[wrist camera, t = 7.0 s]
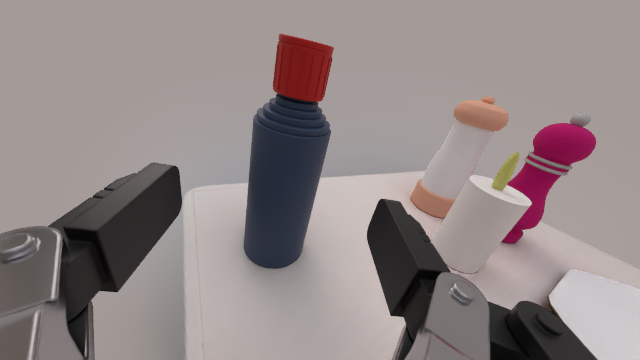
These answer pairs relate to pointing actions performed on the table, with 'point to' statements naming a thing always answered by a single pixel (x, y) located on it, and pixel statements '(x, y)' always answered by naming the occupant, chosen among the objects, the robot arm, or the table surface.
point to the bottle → (283, 178)
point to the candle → (480, 219)
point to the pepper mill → (549, 166)
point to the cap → (301, 68)
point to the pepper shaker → (458, 155)
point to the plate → (599, 314)
